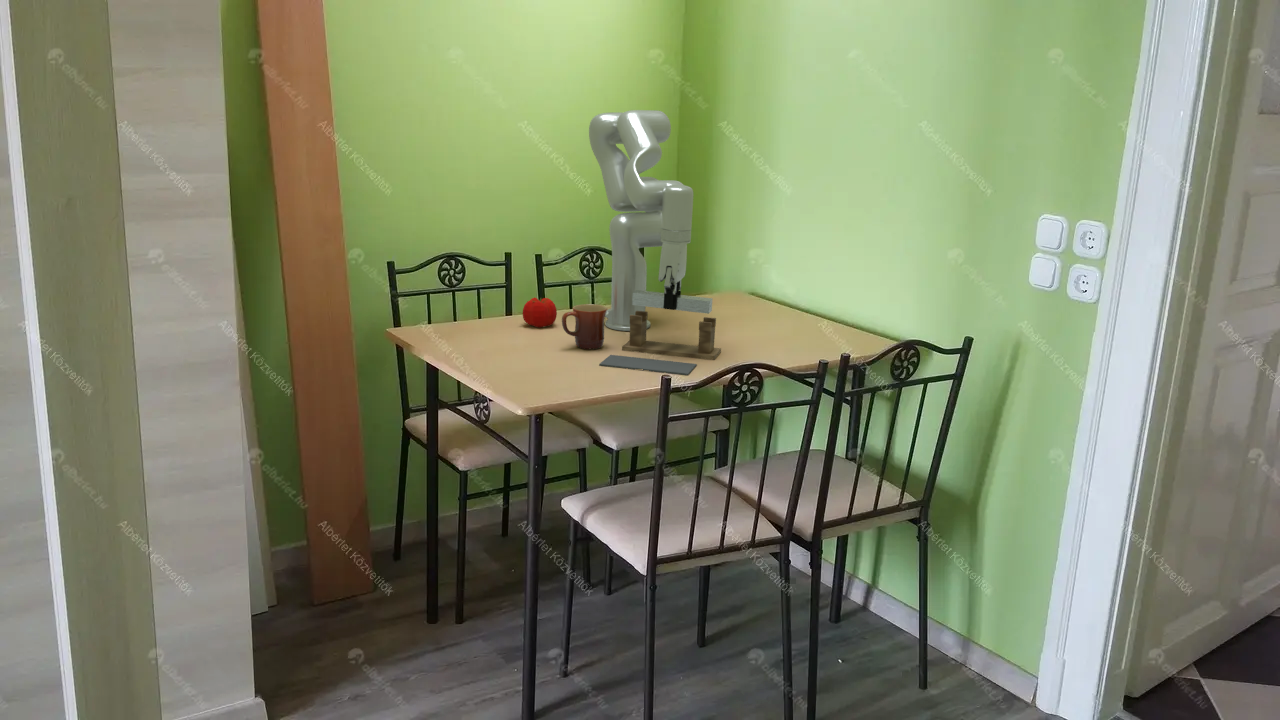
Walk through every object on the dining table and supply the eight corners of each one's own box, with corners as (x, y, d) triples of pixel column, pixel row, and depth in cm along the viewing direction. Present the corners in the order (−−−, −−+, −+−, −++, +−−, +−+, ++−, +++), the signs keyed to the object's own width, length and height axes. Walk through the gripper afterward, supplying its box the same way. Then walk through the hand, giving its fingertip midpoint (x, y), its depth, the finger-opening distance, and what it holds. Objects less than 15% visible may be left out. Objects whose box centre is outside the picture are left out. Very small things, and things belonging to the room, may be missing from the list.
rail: (632, 304, 254) (632, 292, 253) (635, 302, 257) (636, 289, 256) (708, 313, 249) (709, 301, 248) (711, 310, 252) (712, 298, 251)
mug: (597, 341, 263) (598, 303, 260) (612, 349, 256) (613, 310, 253) (555, 345, 258) (555, 306, 255) (569, 353, 250) (569, 314, 247)
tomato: (551, 321, 283) (552, 295, 281) (559, 328, 275) (559, 302, 273) (519, 322, 280) (519, 296, 278) (525, 330, 272) (525, 303, 270)
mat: (599, 365, 241) (599, 363, 241) (610, 356, 249) (610, 354, 249) (688, 375, 235) (688, 373, 235) (696, 365, 244) (696, 363, 243)
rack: (622, 350, 255) (622, 315, 253) (631, 342, 262) (632, 309, 260) (714, 359, 249) (716, 324, 246) (720, 352, 256) (722, 317, 254)
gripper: (669, 229, 256) (665, 298, 262) (652, 239, 241) (648, 313, 247) (698, 231, 254) (693, 301, 260) (682, 242, 239) (678, 317, 245)
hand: (671, 306), depth 253 cm, fingers closed on rail, 3 cm apart
